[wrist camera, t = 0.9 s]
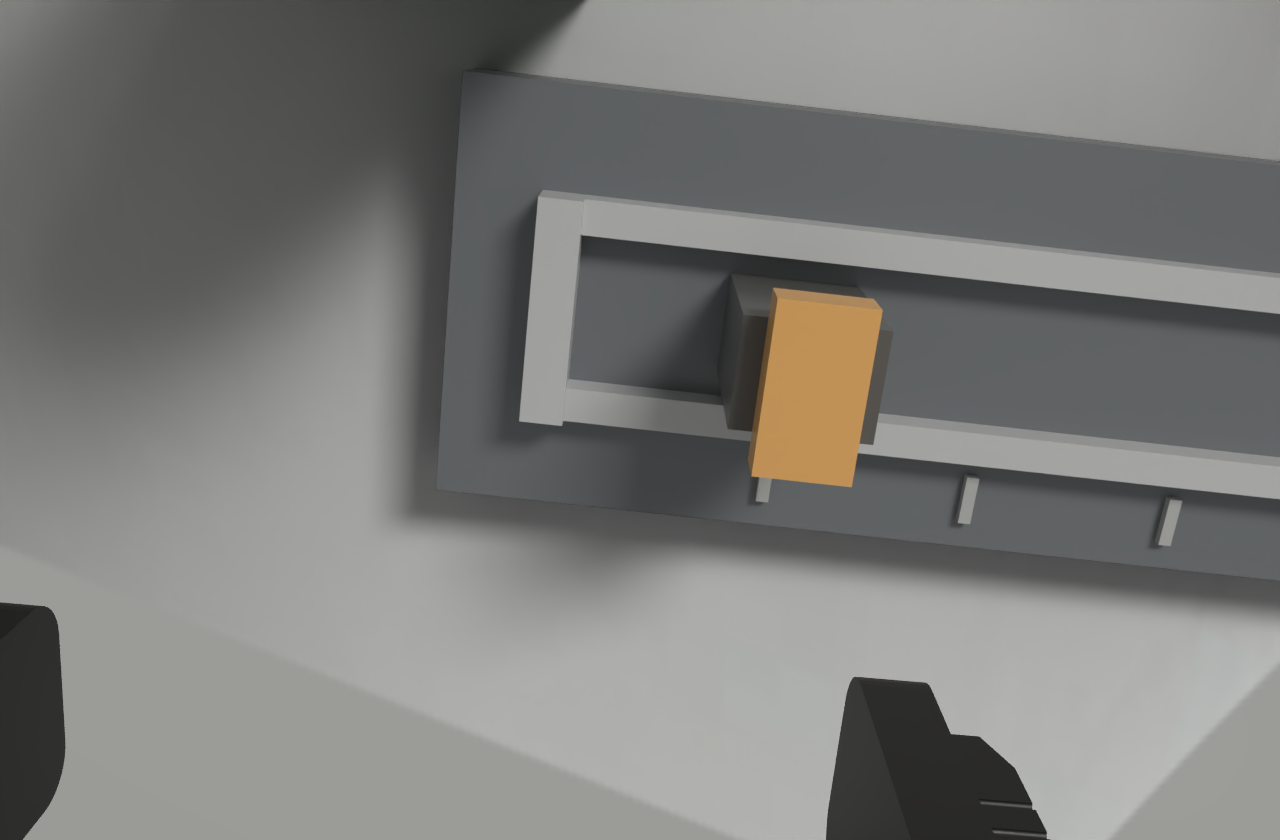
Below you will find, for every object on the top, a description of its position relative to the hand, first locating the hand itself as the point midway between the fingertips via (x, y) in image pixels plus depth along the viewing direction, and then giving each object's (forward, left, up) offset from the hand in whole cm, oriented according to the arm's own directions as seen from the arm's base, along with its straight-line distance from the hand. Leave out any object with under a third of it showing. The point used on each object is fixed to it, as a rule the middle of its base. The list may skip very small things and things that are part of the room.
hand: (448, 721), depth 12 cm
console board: (-1, +13, -19) cm, 23 cm away
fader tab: (-1, +5, -17) cm, 18 cm away
